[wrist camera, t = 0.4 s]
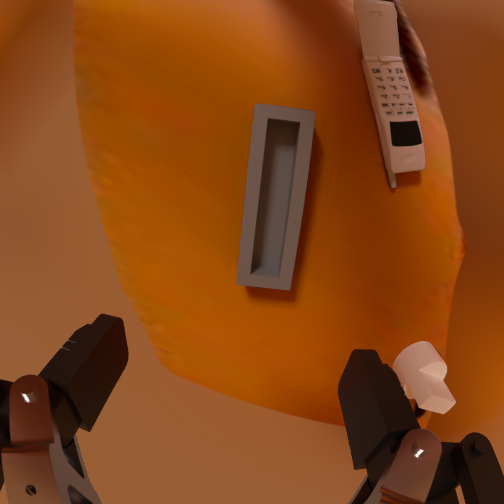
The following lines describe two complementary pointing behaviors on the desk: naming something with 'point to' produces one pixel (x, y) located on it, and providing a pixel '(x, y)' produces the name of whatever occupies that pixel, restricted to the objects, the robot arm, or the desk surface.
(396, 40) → the mobile phone
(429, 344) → the cylinder with rectangular tab
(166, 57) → the desk surface
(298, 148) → the pen tray
